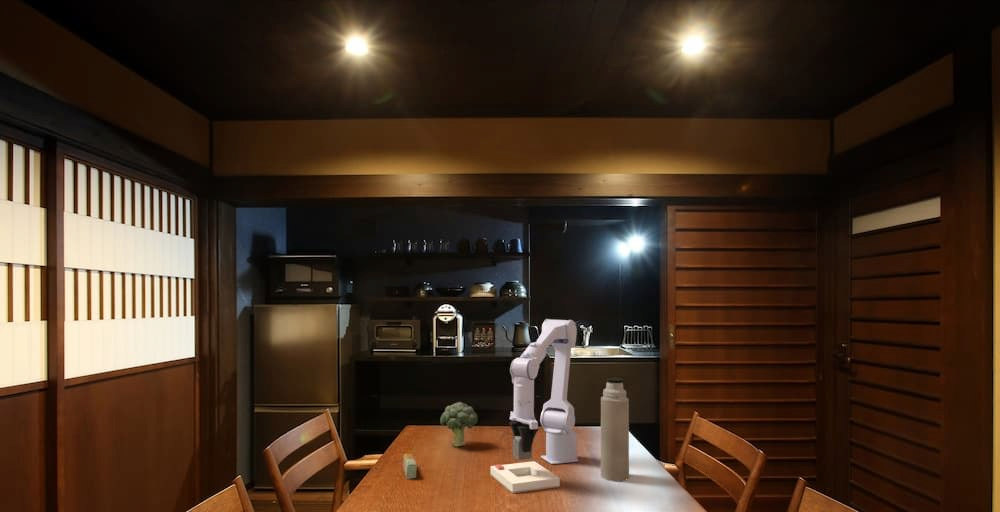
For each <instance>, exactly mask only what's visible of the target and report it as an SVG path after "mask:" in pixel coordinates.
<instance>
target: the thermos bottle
mask: <svg viewBox="0 0 1000 512" xmlns="http://www.w3.org/2000/svg"><path fill="white" fill-rule="evenodd" d="M605 382H606V384H605V385H606V386H605V388H604V389H603V391H602V395H603V396H601V397H600V478H602V477H603V478H602V479H604V478H605V479H604V480H606V479H608V480H607V481H610V480H614V481H613V482H623V480H625V481H627V480H626V479H628V478H630V457H629V456H630V452H629V450H630V447H629V446H630V442H629V441H630V435H629V432H630V418H629V416H630V415H629V414H630V413H629V411H630V410H629V408H630V402H629V401H630V400H629V398H628V397H627V390H625V389H624V384H623V383H624V379H623V378H619V377H609V378H608V377H607V378H606V380H605ZM628 480H629V479H628Z"/></svg>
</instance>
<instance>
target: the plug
mask: <svg viewBox="0 0 1000 512" xmlns="http://www.w3.org/2000/svg"><path fill="white" fill-rule="evenodd" d="M532 453H533V447H531V451H530V452H523V450H522V442H521V436H515V438H514V437H513V438H512V457H513V458H515V459H517V460H518V461H524V460H531V459H532V458H533V457H532V456H533V455H532Z"/></svg>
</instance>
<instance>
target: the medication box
mask: <svg viewBox="0 0 1000 512" xmlns="http://www.w3.org/2000/svg"><path fill="white" fill-rule="evenodd" d="M402 465H403V466H402V468H403V470H404V473H405V474H404V475H405V477H407V478H406V480H414V479H413V478H416V479H417V468H418V465H417V462H416V460H415V457H414V455H413V454H412V453H403V463H402ZM411 478H412V479H411Z"/></svg>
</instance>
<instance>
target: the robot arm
mask: <svg viewBox="0 0 1000 512" xmlns="http://www.w3.org/2000/svg"><path fill="white" fill-rule="evenodd" d="M541 324H542V325H541V334H540V335H539V337H538V338H537V340H536V341H535V342H531V343H530V344H529V345H528V346H527V348H526V349H525V350H524V351H523V352H522V354H521V355H520V357H516V358H515V359H513V360H512V361H511V363H510V368H509V373H510V375H511V382H512V384H513V411H510V414H509V420H511V421H509V423H508V424H509V426H510V428H511V431H512V435H513V438H515V436H521V442H522V450H523V452H530V451H531V447H532V446H533V443H534V439H535V437H536V435H537V432H538V431H539V424H538V423H539V422H538V421H537V420H536V417H535V413H534V412H535V411H534V410H535V409H534V408H535V379H536V378H537V376H538V372H539V369H540V364H541V363H542V362H543V360H544V359H545V357H547V348H549V346H552V347H553V348H554V350H555V352H554V353H555V354H554V363H553V365H554V366H553V375H552V385H551V393H550V394H551V396H550V399H549V400H548V401H547V400H546V402H544V403H543V406H542V411H541V414H540V419H539V421H540V425H541V427H542V428H543V431H544V432H546V433H545V455H544V454H543V455H541V456H540V458H541V459H543V460H544V461H546V462H547V463H549V464H551V465H558V464H565V463H566V464H567V463H574V462H579V459H578V438H577V437H578V436H577V434H576V431H574V430H573V429H574V428H575V424H576V417H575V407H574V406H573V405H572V404H571V403H570V401H568V387H569V376H570V365H571V355H572V354H571V353H572V348H574V347H575V346H576V342H577V334H578V333H577V332H578V331H577V330H578V329H577V325H576V323H575V321H574V320H572V319H568V320H566V319H550V318H546V319H544V321H543V323H541ZM532 448H533V447H532Z"/></svg>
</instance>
